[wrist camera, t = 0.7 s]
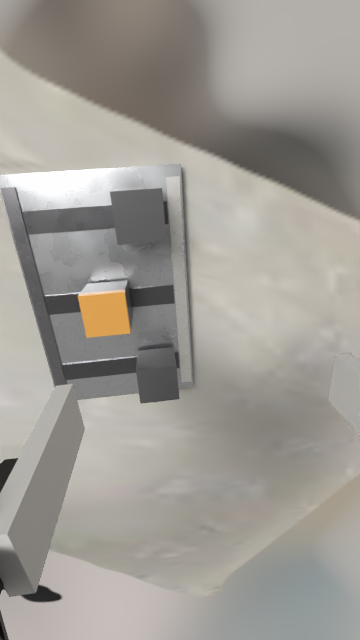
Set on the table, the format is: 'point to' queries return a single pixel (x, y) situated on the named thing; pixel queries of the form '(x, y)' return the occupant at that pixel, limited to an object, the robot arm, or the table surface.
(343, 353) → the robot arm
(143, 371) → the breaker
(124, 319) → the block
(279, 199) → the table surface
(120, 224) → the block
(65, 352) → the panel
